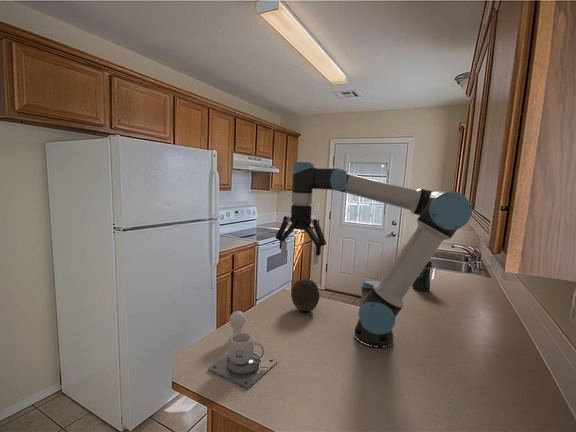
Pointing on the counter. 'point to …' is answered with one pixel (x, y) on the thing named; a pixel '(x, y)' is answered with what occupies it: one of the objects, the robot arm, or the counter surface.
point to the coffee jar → (423, 279)
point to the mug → (242, 348)
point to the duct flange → (239, 370)
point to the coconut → (305, 295)
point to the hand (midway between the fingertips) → (298, 260)
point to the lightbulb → (237, 321)
